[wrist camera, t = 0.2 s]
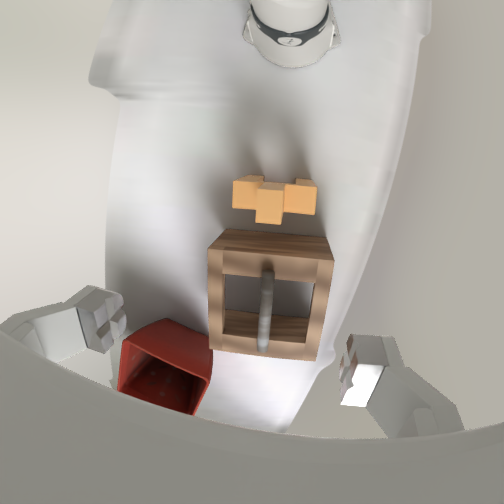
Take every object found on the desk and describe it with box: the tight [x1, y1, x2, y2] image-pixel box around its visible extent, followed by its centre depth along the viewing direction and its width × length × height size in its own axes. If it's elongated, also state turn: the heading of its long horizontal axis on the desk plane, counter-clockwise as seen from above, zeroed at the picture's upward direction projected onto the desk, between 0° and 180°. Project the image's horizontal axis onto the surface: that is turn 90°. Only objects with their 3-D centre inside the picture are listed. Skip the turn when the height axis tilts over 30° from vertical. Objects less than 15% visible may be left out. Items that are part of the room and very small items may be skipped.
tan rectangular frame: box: [208, 229, 335, 361], centre depth 53 cm, size 20×20×15 cm
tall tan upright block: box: [232, 175, 317, 225], centre depth 44 cm, size 4×12×22 cm, turn 87°
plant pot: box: [117, 318, 213, 416], centre depth 62 cm, size 19×19×17 cm
